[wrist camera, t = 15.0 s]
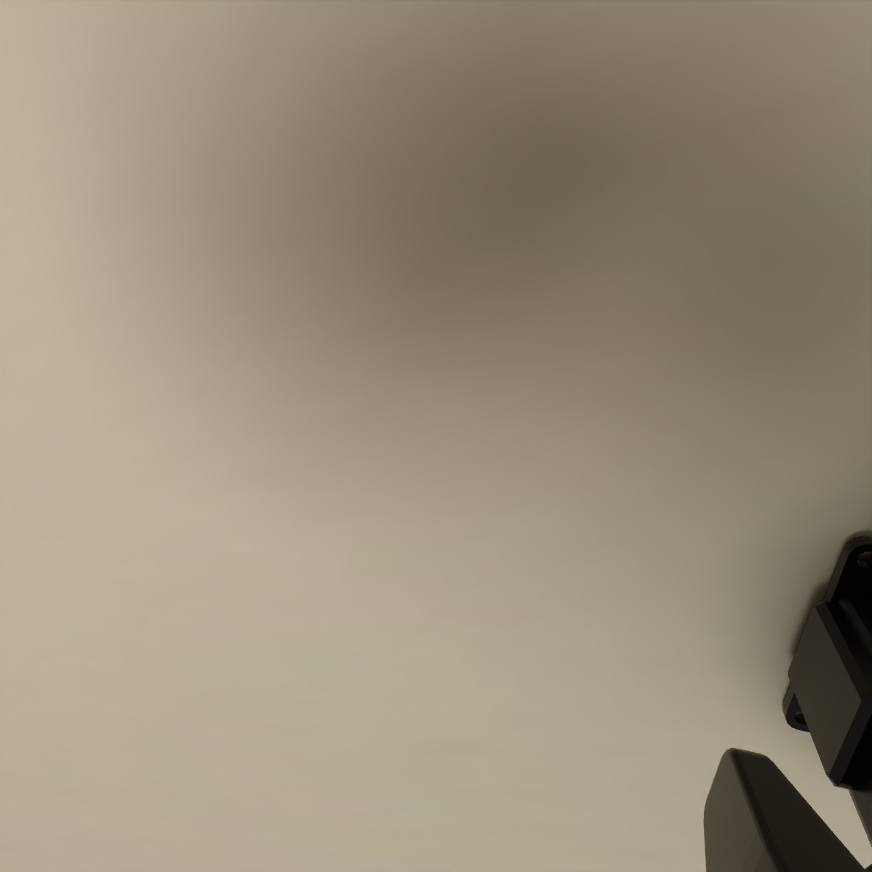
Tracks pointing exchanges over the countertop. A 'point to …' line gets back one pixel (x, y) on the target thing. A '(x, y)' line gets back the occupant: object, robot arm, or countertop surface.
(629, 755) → the countertop surface
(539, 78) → the countertop surface
